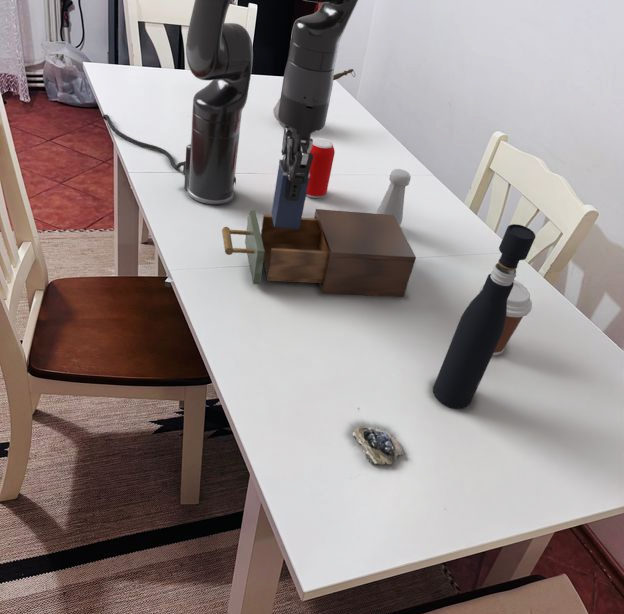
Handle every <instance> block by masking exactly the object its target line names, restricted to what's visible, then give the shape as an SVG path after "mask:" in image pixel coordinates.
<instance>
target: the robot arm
mask: <svg viewBox="0 0 624 614" xmlns="http://www.w3.org/2000/svg"><path fill="white" fill-rule="evenodd" d="M303 1H305V2H307V3H309V2H310V3H321V5H320V7H319V9H318V10H316V12H314V13H311V14H308V15H304V16H301V17H299V18H297V19H295V21H294V23H293V26H292V29H291V36H290V43H289V49H288V50H289V51H288V56H287V60H286V61H287V62H286V65H285V69H284V72H283V79H282V84H281V85H282V86H281V93H280V97H281V98H280V97H279V99H280V105H279V112H278V117H279V120H280V121H281V122H282V123H283V124H285V125H284V127H283V135H282V136H283V137H282V146H281V151H280V152H281V156H283V157H282V159H281V160H287V161H286V163H287V164H288V165H289V172H288V181H287V187H286V193H285V198H286V200H287V201H298V199H299V194H300V188H301V183H303V184H306V182H307V178H308V174H309V171H310V167H311V164H312V160H313V153H310V150H311V149H312V143H313V137H312V136H311V135H312V133H315V132H318V131H321V130H322V129H324V128H325V126H326V123H327V122H326V121H327V116H328V112H329V107H330V102H331V96H332V91H333V86H334V80H333V76H334V75H335V74H334V73H335V67H336V61H337V57H338V52H339V46H340V41H341V39H342V37H343V34H344V33H345V30H346V28H347V26H348V24H349V22H350V20H351V17H352V15H353V13H354V11H355V10H356V9H355V8H356V6H357V5H358V2H359V0H303ZM231 2H232V0H194V3H193V6H192V12H191V16H190V20H189V26H188V29H187V36H186V42H185V43H186V44H185V53H186V55H185V56H186V61H187V65H188V69H189V70H190V72H191V74H192V75H193V76H194V77H195V78H196V79H198V80H200V81H210V82H209V84H207V85H206V86H204V87H203V88H202V89H200V90H199V91H197V92H196V93H195V94H194V96H193V99H192V112H191V132H190V143H189V144H187V145H186V147H185V160H184V161H180V162H178V163H177V164H176V163H175V161H174V158H173V156H172V155H171V153H170V152H169V151H167V150H165V149H164V148H161V147H159V146H157V145H153V144H150V143H147V142H142V141H139V140H137V139H134V138H132V137H130V136H128V135H126V134H124V133H123V132H121V131H120V130H118V129H117V128H116V127H115V125H114V124H113V123H112V120H111V118H110V116H109V115H108V114H103V116H102V119H103V120H105V119H106V121H107V122H106V123H107V124H108V126H109V128H110V129H111V130H112V131H113V132H114V133H116V134H117V135H118V136H120V137H122V138H123V139H125V140H127V141H129V142H131V143H132V144H135V145H138V146H141V147H145V148H148V149H152V150H155V151H158V152H160V153H162V154H164V155H165V156H166V158H167V159H168V160H169V163H170V166H171V167H172V168H173V169H175V170H178V169H180V168H181V167H183V169H182V175H183V176H184V183H183V184H184V186H183V189H184V190H185V191H186V192H187V194H188V196H189V197H190V198H191V199H193V200H194V201H197V202H198V203H202V204H206V205H224V204H227V203H230V202H231V201H232V200H233V199H234V194H235V191H234V190H235V186H236V185H237V177H236V171H237V162H238V152H239V144H240V143H239V142H240V133H241V123H242V115H243V114H242V113H243V110H244V108H245V107H246V104H247V100H248V95H249V90H250V89H249V88H250V83H251V77H252V71H253V63H254V62H253V61H254V48H253V42H252V39H251V36H250V34H249V32H248V30H247V29H246V28H245V27H244V26H243V25H241V24H239V23H234V22H225V21H226V17H227V13H228V11H229V7H230V5H231ZM311 137H312V138H311ZM296 173H300V174H296Z"/></svg>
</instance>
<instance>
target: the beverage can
mask: <svg viewBox="0 0 624 614" xmlns="http://www.w3.org/2000/svg"><path fill="white" fill-rule="evenodd" d="M312 139H313V143H312V149H311V150H310V153H313V160H312V164H311V167H310V171H309V173H310V178H309V182H308V187H307V192H306V197H309V198H312V199H317V198H318V199H319V198H322V197H324V196H326V195H327V192H328V187H329V183H330V177H331V172H332V168H333V163H334V160H335V159H334V157H335V152H336V151H335V147H334V145H333V143H332V142H331V141H330V140H329V139H327V138H323V137H312Z"/></svg>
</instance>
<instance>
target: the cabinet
mask: <svg viewBox="0 0 624 614" xmlns="http://www.w3.org/2000/svg"><path fill="white" fill-rule="evenodd" d="M313 218H317V220H318V223H319V226H320V228H321V231H322V234H323V237H324V240H325V243H326V246H327V248H328V251H329V257H328V262H327V266H326V271H325V275H324V280H323V283H318V285H319V288H320V291H321V294H326V295H328V294H329V295H349V296H350V295H351V296H353V295H354V296H375V297H377V296H378V297H402V298H403V297H404V296H405V293H406V291H407V287H408V284H409V281H410V278H411V276H412V272H413V268H414V266H415V262H416V259H417V256H416V255H415V252H414V250H413V249H412V246H411V245H410V243H409V241H408V239H407V236H406V235H405V233H404V231H403V229H402V228H401V225H399V223H398V222H397V220H396V218H395V216H394V215H387V214H376V213H374V212H373V213H372V212H361V211H347V210H336V209H335V210H333V209H323V208H315V211H314V215H313Z"/></svg>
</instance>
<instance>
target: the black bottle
mask: <svg viewBox="0 0 624 614" xmlns="http://www.w3.org/2000/svg"><path fill="white" fill-rule="evenodd" d="M535 239H536V234H535V232H534V231H533V230H532V229H531V228H529V227H527V226H525V225H522V224H517V223H516V224H515V223H512V224H509V225H508V226H507V227H506V229H505V232H504V234H503V237H502V239H501V242H500V244H499V247H498V250H499V252H500V253H501V255H500V257H499V259H498V261H497V262H496V263H495V264H494V266H493V267H492V270H491V271H490V273H488V275H487V277H486V279H485V282H484V284H483V285H484V287H483V289H482V291H481V292H480V291H479V292H478V294H476V296H475V297H474V298H473V299H472V300H471V301H470V302H469V304H467V306H466V308H465V310H464V311H463V313H462V315H461V317H460V319H459V321H458V323H457V326H456V328H455V331H454V334H453V336H452V339H451V341H450V344H449V346H448V349H447V351H446V354H445V357H444V359H443V361H442V364H441V366H440V369H439V371H438V373H437V377H436V378H435V382H434V384H433V386H432V393H433V396H434V398H435V399H436V400H437V401H438V402H439V403H440V404H442V405H444V406H445V407H448V408H450V409H456V410H462V409H465V408H468V407H469V406H470V405H471V403H472V401H473V399H474V396H475V395H476V392H477V390H478V388H479V385H480V384H481V381H482V379H483V377H484V374H485V372H486V371H487V368H488V366H489V364H490V362H491V359H492V358H493V356H494V355H493V353H494V351H495V349H496V346H497V344H498V342H499V340H500V338H501V335H502V333H503V330H504V326H505V321H506V314H507V299H508V297H509V295H510V292H511V290H512V288H513V286H514V284H513V282H514V280H515V278H516V277H517V269H518V266H519V263H520V261H524V260H526V259H527V257H528V255H529V253H530V251H531V248H532V246H533V244H534V242H535Z"/></svg>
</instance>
